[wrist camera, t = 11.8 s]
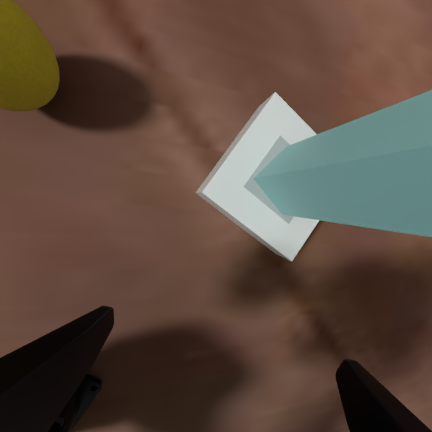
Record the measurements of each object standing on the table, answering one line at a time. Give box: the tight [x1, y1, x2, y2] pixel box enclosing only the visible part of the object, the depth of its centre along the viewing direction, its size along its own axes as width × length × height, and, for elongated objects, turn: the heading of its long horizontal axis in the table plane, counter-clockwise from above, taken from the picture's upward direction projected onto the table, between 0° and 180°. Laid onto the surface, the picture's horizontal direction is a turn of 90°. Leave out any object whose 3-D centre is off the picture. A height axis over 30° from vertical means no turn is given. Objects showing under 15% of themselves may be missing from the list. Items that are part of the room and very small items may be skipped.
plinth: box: [196, 92, 319, 261], centre depth 20 cm, size 10×10×3 cm
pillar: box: [253, 90, 432, 237], centre depth 13 cm, size 4×4×12 cm
